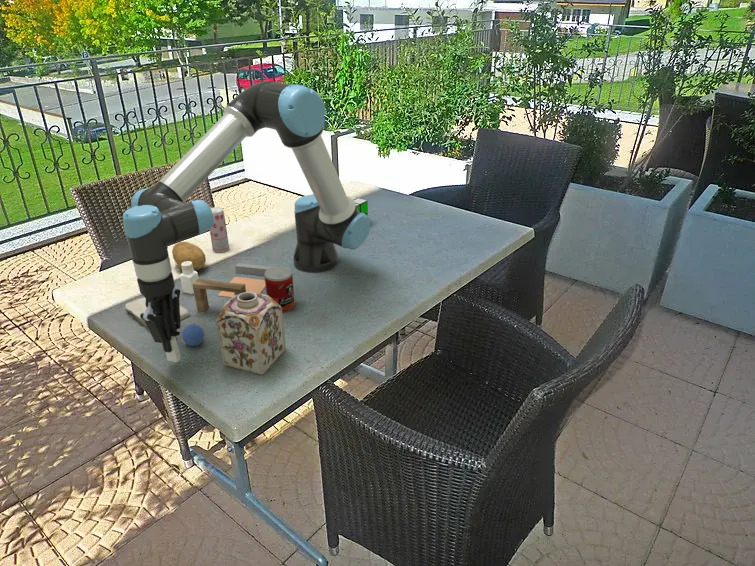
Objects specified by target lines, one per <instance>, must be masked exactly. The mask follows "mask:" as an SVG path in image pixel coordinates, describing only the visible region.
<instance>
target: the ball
mask: <svg viewBox="0 0 755 566" xmlns="http://www.w3.org/2000/svg"><path fill="white" fill-rule="evenodd" d="M181 338H182V340H183V341H182V342H184V343H185V344H186V345H188V346H192V347H195V346H198V345H200V344H201V343H202V342H203V341H204V339H205V332H204V329H203V328H202V327H201V325H198V324H189V325H187V326H186V327H184V329H183V330H182V332H181Z"/></svg>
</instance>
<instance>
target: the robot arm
mask: <svg viewBox="0 0 755 566" xmlns="http://www.w3.org/2000/svg"><path fill="white" fill-rule="evenodd" d="M326 114H327V113H326V106H325V103H324V101H323V99H322V97H321V96H320V95H319V94H318V92H317V91H315V90H314V89H312V88H310V87H307V86H305V85H302V84H290V83H284V82H278V81H272V80H264V81H260V82H257V83H254V84H252V85H251V86H248V87H247V88H246V89H244V90H243V91H241V92H240V93H239V94H238V95H236V97H234V98H232V100H231V101H230V102H229V103H228V104H227V105H226V106H225V107H224V108H223V115H222V116H221V117H220V118H219V119H218V121H216V122H215V124H213V125H212V126H211V127H210V128H209V129H208V131H207V132H205V134H203V136H202V137H201V138H199V140H197V142H196V143H195V144H193V146H192V147H191V148H190V149H189V150H187V152H186V153H185V154H184V155H183V156H182V157H181V158H180V159H179V160H178V161H177V162H176V163H175V165H173V166H172V167H171V168H170V169H169V170H168V171H167V173H166V174H165V175H164V176H162V177H161V179H159V181H158V182H157V183H156V184H154V185H153V186H152V187H151V188H142V189H140V190H138V191H136V192H135V193H134V194H133V196H132V199H131V203H130V204H131V205H130V206H131V207H130V208H128V209H127V210H125V211H124V212H123V214H122V223H123V224H122V225H123V229H124V232H123V233H124V234H125V237H126V241H127V244H128V248H129V252H130V256H131V259H132V263H133V267H134V272H135V276H136V279H137V280H136V281H137V285H138V290H139V292H140V295H142V296H143V298H144V297H145V298H146V303H145V305H146V307H147V309H146V311H145V313H141V315H140V318H141V319H142V320H144V321H145V323H146V325H147V327H148V329H149V330H148V329H147V330H148V331H149V333H150V335H151V337H152V339H153V341H154V343H159V344H161V345H162V348H163V351H164V353H165V356H166V357H165V358H166V361H169V362H174V363H178V362H179V361H180V359H181V355H180V351H179V350H180V349H179V345H178V339H177V338H178V336H180V335H181V331H178V330H179V329H181V326H182V325H181V320H180V305H181V304H180V294H181V289H180V288H175V287H176V285H175V280H174V274H173V271H172V270H173V268H172V264H171V258H170V255H169V250H168V246H169V245H173V244H176V243H179V242H182V241H184V240H187V239H189V238H192V237H195V236H196V237H197V236H199V235H201V234H203V233H206V232H208V231H210V229H211V228H212V227H213V224H214V218H213V213H212V210H211V208H212V207H211V206H210V205H209V204H208V203H207V202H206V201H205V200H202V199H196V200H190V201H189V202H187V201H186V200H188V199H189V198H190V196H191V195H192V194H193V193H195V191H196V190H197V189H198V188H199V187H201V185H202V184H203V183H204V182H205V181H206V180H207V179H208V177H209V176H211V174H213V173H214V171H215V170H216V169H217V168H218V167H220V165H221V164H222V163H223V162H224V161H225V160H226V159H227V157H229V156H230V155H231V153H232V152H233V151H234V150H235V149H236V148H237V147H238V146H239V145H240V144H241V143H242V142H243V140H245V139H246V138H250V137H253V136H254V135H255V134H256V133H257V132H258V131H260V130H262V129H265V128H268V129H271V130H275V131H276V133H277V135H278V137H279V139H280V140H281V143H282V144H283V146H284V147H286V148H289V149H291V150H292V152H293V154H294V156H295V159H296V160H297V163H298V164H299V166H300V168H301V171H302V173H303V175H304V177H305V179H306V182H307V184H308V185H309V188H310V190H311V193H313V194H308V195H304V196H301V197H299V198H297V199H296V200H295V202H294V220H295V231H296V232H295V233H296V245H295V249H294V253H293V258H292V259H293V260H292V261H293V266H294V267H295V268H296V269H298V270H300V271H303V272H307V273H308V272H309V273H321V272H326V271H329V270H332V269H334V268H335V267H337V266H338V264H339V261H340V259H339V253H338V250H337V249H336V246H340V247H342V248H343V249H348V250H356V249H359V248H360V247H362V245H363V244H364V243H365V242H366V240H367V238H368V237H369V234H370V230H371V219H370V217H369V215H368V216H367V215H366V214H364V213H360V212H359V211H358V209H357V207H356V204H355V202H354V201H353V199H351V198H349V197H347V196H348V195H347V194H346V192H345V189H344V187H343V184H342V183H341V179H340V177H339V174H338V172H337V171H336V168H335V165H334V163H333V161H332V158H331V156H330V154H329V151H328V148H327V146H326V144H325V142H324V139H323V137H322V135H323V133H324V132H323V131H324V130H325V129H324V125H325V122H326V118H325V116H326ZM147 327H146V328H147Z"/></svg>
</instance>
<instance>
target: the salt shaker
mask: <svg viewBox="0 0 755 566" xmlns="http://www.w3.org/2000/svg"><path fill="white" fill-rule="evenodd" d="M181 266H182V268H181V270H182V273H180V275H179V278H180V282H181V283H180V284H181V288H182V292H183V293H185V294H189V295H194V290H193V285H192V284H193V283H194V282H195V281H196V280H197V279H200V278H199V273H198V272H197V270H193V265H192V262H191V261H186V262H183V263H182V264H181Z"/></svg>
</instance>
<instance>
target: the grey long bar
mask: <svg viewBox="0 0 755 566" xmlns="http://www.w3.org/2000/svg"><path fill="white" fill-rule="evenodd" d="M234 267H235V273H236V274H242V275H243V274H244V275H253V276H262V277H265V271H266V270H268V269H270V268H272V267H273V266H269V265H268V266H267V265H257V264H248V263H240V262H238V263H237V264H236V265H235V266H234Z"/></svg>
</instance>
